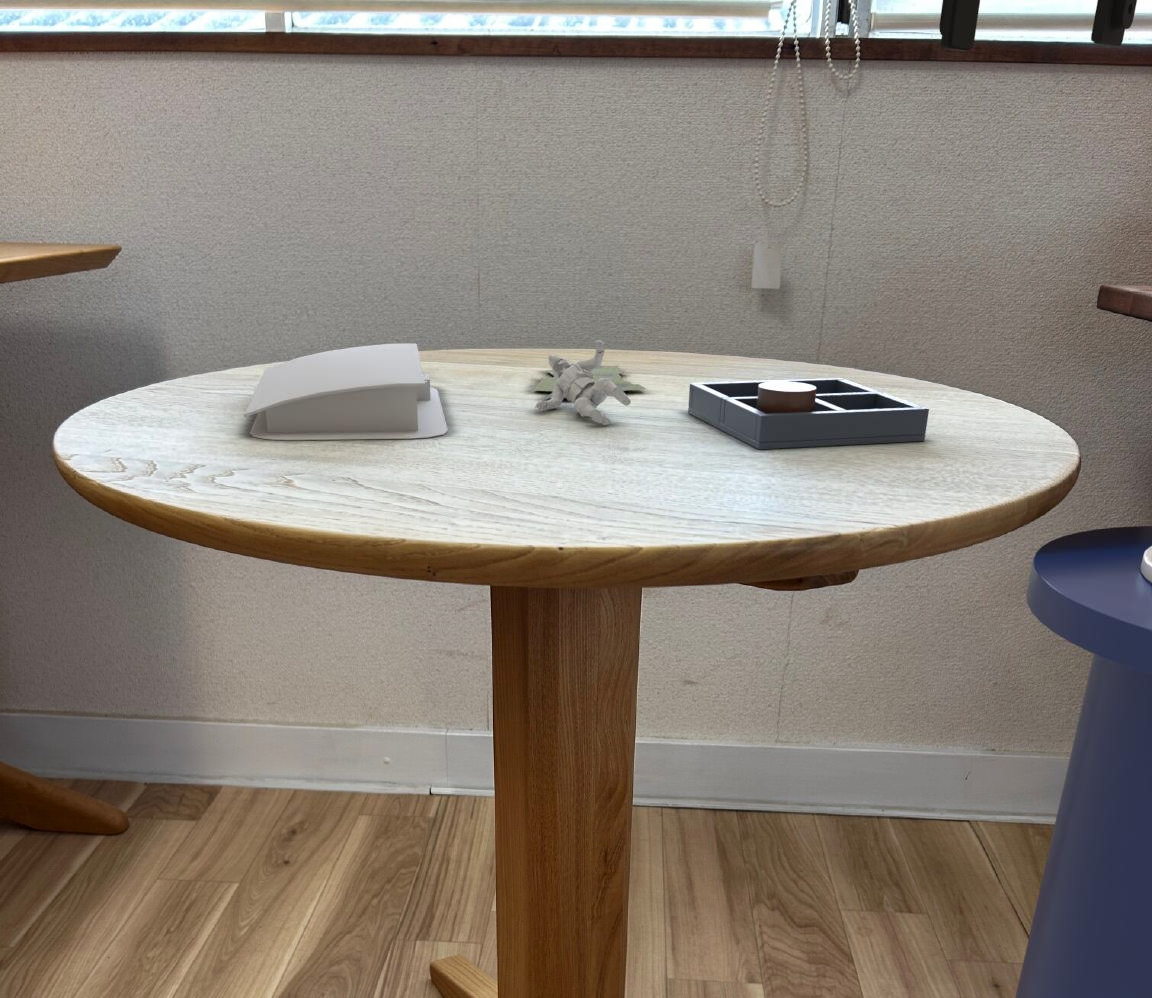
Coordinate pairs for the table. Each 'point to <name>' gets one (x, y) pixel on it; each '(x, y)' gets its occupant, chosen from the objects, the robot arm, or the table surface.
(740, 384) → the grid
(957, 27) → the robot arm
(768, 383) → the cylinder
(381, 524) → the table surface
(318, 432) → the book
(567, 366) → the soldier figure
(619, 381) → the map
